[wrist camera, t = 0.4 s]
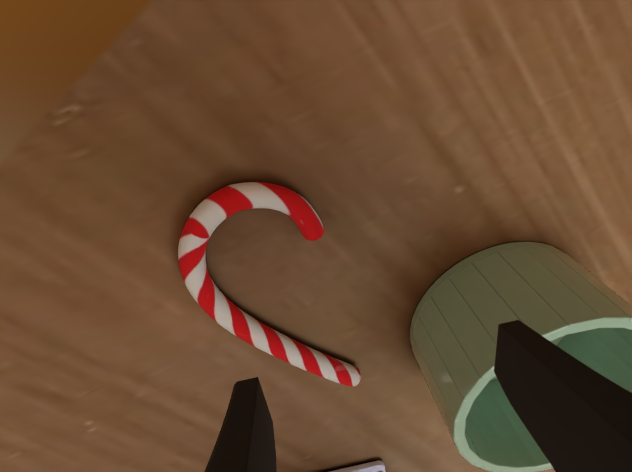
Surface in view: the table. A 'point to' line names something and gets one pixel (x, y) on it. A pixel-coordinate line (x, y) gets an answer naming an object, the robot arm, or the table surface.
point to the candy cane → (221, 307)
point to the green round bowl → (481, 339)
